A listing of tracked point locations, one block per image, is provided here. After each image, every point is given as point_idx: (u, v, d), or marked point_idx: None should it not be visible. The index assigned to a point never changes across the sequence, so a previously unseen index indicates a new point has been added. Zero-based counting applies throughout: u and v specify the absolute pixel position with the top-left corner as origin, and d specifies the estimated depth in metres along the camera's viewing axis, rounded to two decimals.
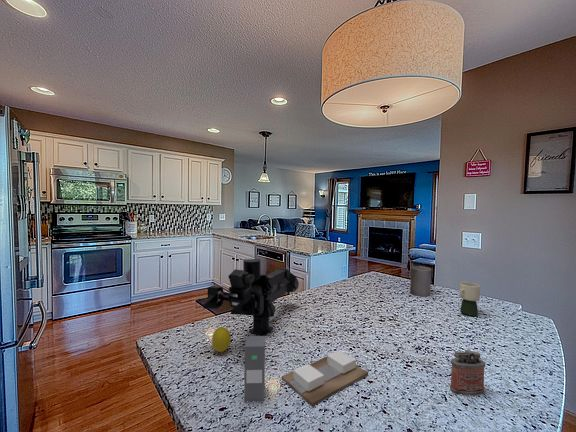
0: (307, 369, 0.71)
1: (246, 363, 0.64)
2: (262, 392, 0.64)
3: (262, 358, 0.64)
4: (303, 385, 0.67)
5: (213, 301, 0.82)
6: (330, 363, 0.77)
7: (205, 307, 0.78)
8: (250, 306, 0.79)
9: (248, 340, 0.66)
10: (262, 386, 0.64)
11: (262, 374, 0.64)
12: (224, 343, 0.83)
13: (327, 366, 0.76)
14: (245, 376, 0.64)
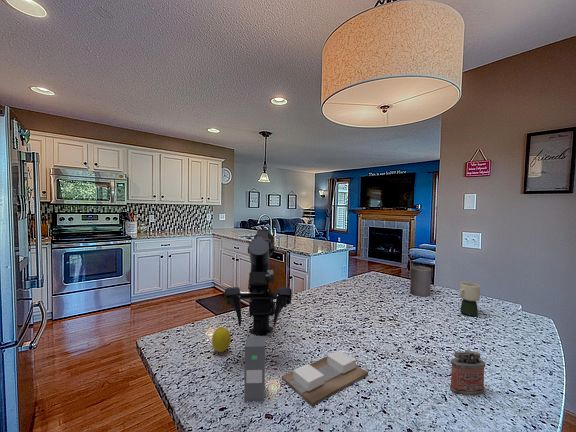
0: (307, 369, 0.71)
1: (246, 363, 0.64)
2: (262, 392, 0.64)
3: (262, 358, 0.64)
4: (303, 385, 0.67)
5: (240, 309, 0.76)
6: (330, 363, 0.77)
7: (240, 324, 0.74)
8: (282, 303, 0.79)
9: (248, 340, 0.66)
10: (262, 386, 0.64)
11: (262, 374, 0.64)
12: (224, 343, 0.83)
13: (327, 366, 0.76)
14: (245, 376, 0.64)
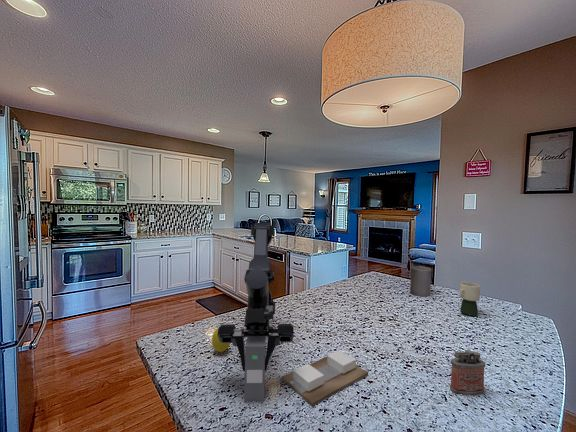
0: (307, 369, 0.71)
1: (246, 363, 0.64)
2: (262, 392, 0.64)
3: (263, 358, 0.64)
4: (303, 385, 0.67)
5: (244, 350, 0.68)
6: (330, 363, 0.77)
7: (244, 369, 0.65)
8: (274, 342, 0.70)
9: (249, 340, 0.66)
10: (262, 386, 0.64)
11: (262, 374, 0.64)
12: (224, 343, 0.83)
13: (327, 366, 0.76)
14: (245, 376, 0.64)
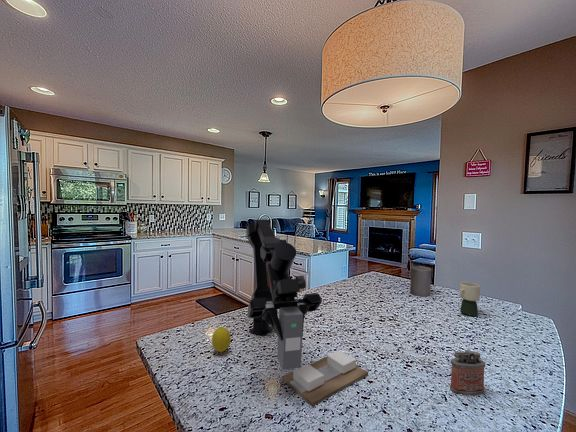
0: (307, 369, 0.71)
1: (286, 331, 0.65)
2: (299, 359, 0.66)
3: (301, 325, 0.66)
4: (303, 385, 0.67)
5: None
6: (330, 363, 0.77)
7: None
8: None
9: (284, 310, 0.67)
10: (300, 353, 0.66)
11: (300, 341, 0.66)
12: (224, 343, 0.83)
13: (327, 366, 0.76)
14: (284, 344, 0.65)
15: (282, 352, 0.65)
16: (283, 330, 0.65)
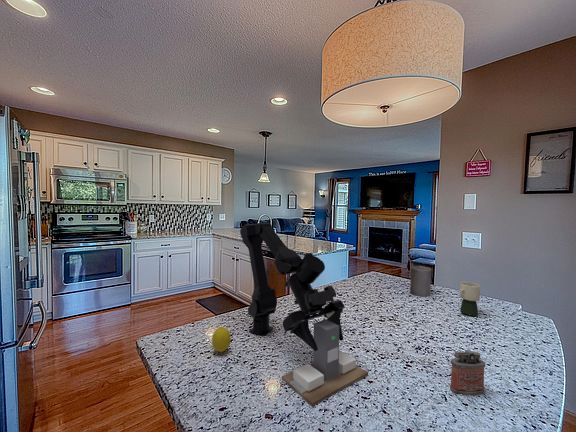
0: (307, 369, 0.71)
1: (327, 345, 0.70)
2: (337, 367, 0.72)
3: (338, 337, 0.72)
4: (303, 385, 0.67)
5: None
6: None
7: None
8: None
9: (321, 325, 0.72)
10: (337, 361, 0.72)
11: (338, 351, 0.72)
12: (224, 343, 0.83)
13: None
14: (326, 357, 0.70)
15: (324, 364, 0.70)
16: (324, 344, 0.70)
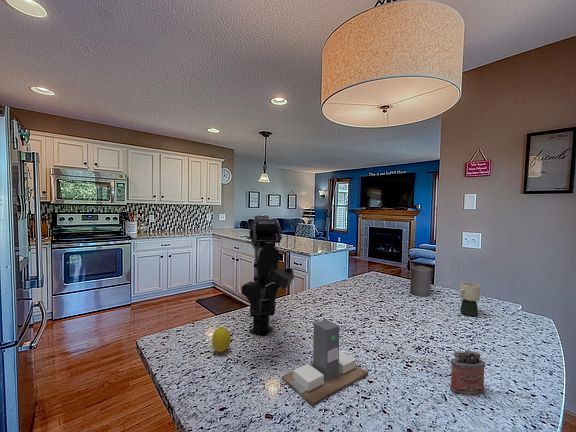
0: (307, 369, 0.71)
1: (327, 345, 0.70)
2: (337, 367, 0.72)
3: (338, 337, 0.72)
4: (303, 385, 0.67)
5: None
6: None
7: None
8: None
9: (321, 325, 0.72)
10: (337, 361, 0.72)
11: (338, 351, 0.72)
12: (224, 343, 0.83)
13: None
14: (326, 357, 0.70)
15: (324, 364, 0.70)
16: (324, 344, 0.70)
